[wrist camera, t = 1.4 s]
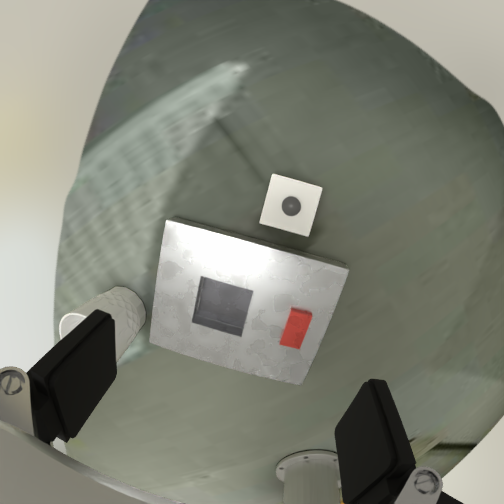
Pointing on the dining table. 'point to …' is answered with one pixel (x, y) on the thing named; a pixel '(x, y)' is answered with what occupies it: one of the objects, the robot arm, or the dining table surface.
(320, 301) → the socket plate
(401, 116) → the dining table surface
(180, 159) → the dining table surface
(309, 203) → the plug
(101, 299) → the white cup
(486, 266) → the dining table surface
